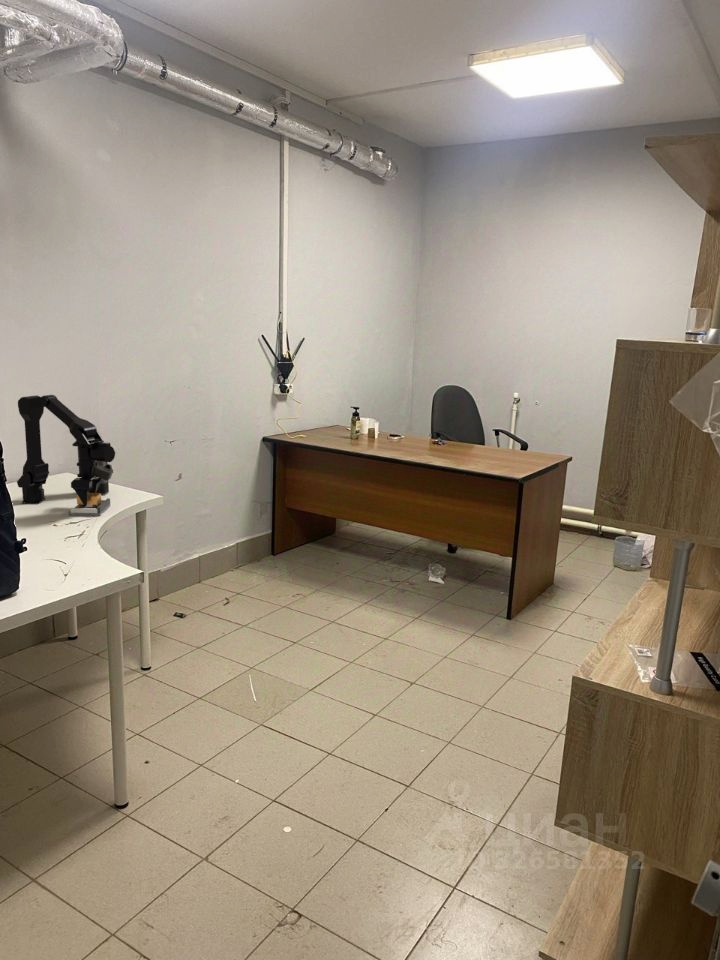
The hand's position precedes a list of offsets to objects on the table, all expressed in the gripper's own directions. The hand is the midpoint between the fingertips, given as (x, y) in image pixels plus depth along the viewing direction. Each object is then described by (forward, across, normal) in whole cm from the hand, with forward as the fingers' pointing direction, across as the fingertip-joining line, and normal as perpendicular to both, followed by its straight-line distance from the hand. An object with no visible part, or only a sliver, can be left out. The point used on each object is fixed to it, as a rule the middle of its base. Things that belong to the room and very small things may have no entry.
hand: (89, 501), depth 248 cm
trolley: (+2, 0, 0) cm, 2 cm away
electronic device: (+4, +24, +5) cm, 25 cm away
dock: (+4, 0, 0) cm, 4 cm away
